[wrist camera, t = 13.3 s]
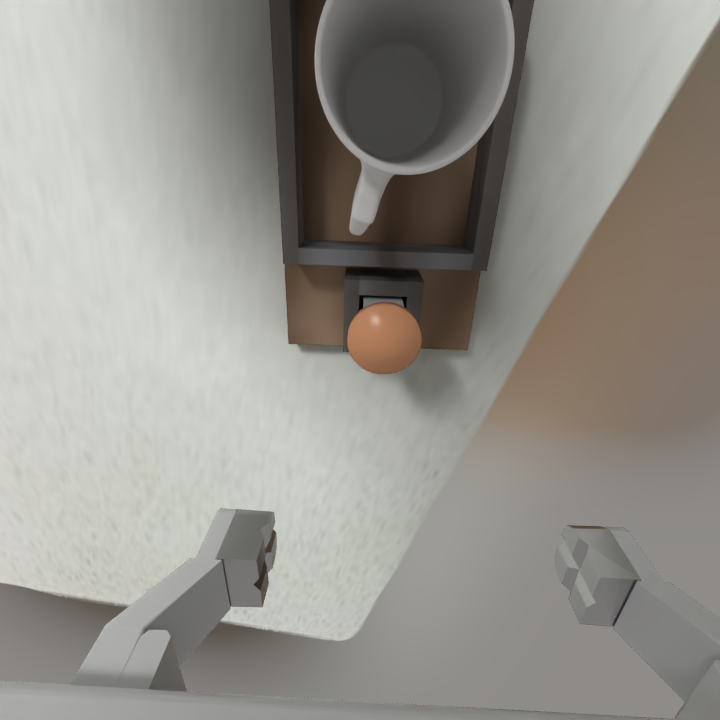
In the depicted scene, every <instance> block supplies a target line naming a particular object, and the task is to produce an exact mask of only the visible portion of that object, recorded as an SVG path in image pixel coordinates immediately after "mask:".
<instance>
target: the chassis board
mask: <svg viewBox="0 0 720 720" xmlns="http://www.w3.org/2000/svg"><path fill="white" fill-rule="evenodd" d="M508 1H509V4H510V8H511V12H512V18H513V24H514V37H515V49H514V61H513V68H512V74H511V78H510V82H509V86H508V89H507V92H506V95H505V98H504V100H503V103H502V105H501V107H500V109H499V111H498V113H497V115H496V117H495V119H494V120H493V122H492V123H491V125H490V127H489V128H488V129H487V131H486V132H485V133H484V135H483V136H482V137H481V138H480V139H479V141H478V142H477V143H476V144H475V145H474V146H473V147H472V148H471V149H469V150H468V151H467V152H466V153H465V154H464V155H462V156H461V157H459V158H458V159H457V160H455V161H453V162H452V163H450V164H448V165H446V166H444V167H442V168H439V169H437V170H434V171H431V172H427V173H422V174H415V175H398V174H395V175H393V176H392V178H391V179H390V180H389V182H388V184H387V185H386V188H385V190H384V192H383V194H382V197H381V200H380V203H379V207H378V210H377V213H376V216H375V219H374V221H373V223H371V224H370V225H369V226H368V228H367V229H366V231H365V232H364V233H363V234H362V235H359V236H358V235H354V234H352V233H351V232H350V230H349V225H350V218H351V211H352V204H353V199H354V194H355V190H356V187H357V183H358V180H359V177H360V174H361V170H362V165H361V161H360V159H359V158H357V157H356V156H355V155H354V154H353V153H352V152H350V151H349V150H348V149H347V147H346V146H345V145H344V144H343V143H342V142H341V140H340V139H339V138H338V136H337V135H336V134H335V132H334V130H333V129H332V127H331V125H330V123H329V121H328V119H327V117H326V115H325V113H324V110H323V107H322V104H321V101H320V98H319V94H318V89H317V84H316V77H315V42H316V35H317V29H318V25H319V21H320V17H321V14H322V11H323V8H324V5H325V2H326V0H269V3H270V22H271V41H272V59H273V78H274V97H275V116H276V135H277V153H278V172H279V191H280V210H281V229H282V248H283V264H285V282H286V301H287V321H288V340H289V344H308V345H337V346H343V352H349V349H348V344H347V338H348V329H349V326H350V323H351V321H352V319H353V318H354V316H355V315H356V314H357V313H358V312H359V311H360V310H361V309H363V297H364V295H371V296H400V297H402V300H403V304H404V307H405V308H406V309H408V310H409V311H410V312H411V313H412V314H413V316H414V317H415V319H416V320H417V323H418V325H419V328H420V332H421V338H422V339H421V347H420V348H424V349H453V350H467V348H468V342H469V337H470V331H471V325H472V319H473V313H474V307H475V301H476V295H477V289H478V283H479V277H480V271H487V266H488V260H489V255H490V249H491V243H492V238H493V232H494V226H495V220H496V215H497V209H498V203H499V198H500V192H501V186H502V180H503V175H504V169H505V163H506V158H507V152H508V146H509V141H510V135H511V129H512V123H513V118H514V112H515V106H516V101H517V95H518V89H519V83H520V78H521V72H522V66H523V61H524V55H525V49H526V43H527V38H528V32H529V26H530V21H531V15H532V9H533V4H534V0H508Z"/></svg>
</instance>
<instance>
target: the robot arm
mask: <svg viewBox="0 0 720 720" xmlns="http://www.w3.org/2000/svg"><path fill="white" fill-rule="evenodd" d="M274 524H275V515H274V512H269V511H256V510H242V509H224V508H220V510H219V511H218V512H217V513H216V515H215V517H214V519H213V522H212V524H211V526H210V528H209V530H208V532H207V535H206V537H205V539H204V541H203V543H202V545H201V548H200V550H199V552H198V554H197V556H196V558H190V559H189V560H187V561H186V562H185V563H184V564H182V565H181V566H180V567H178V568H177V569H176V570H175V571H173V572H172V573H171V574H170V575H168V576H167V577H166V578H165V579H163V580H162V581H161V582H159V583H158V584H157V585H156V586H154V587H153V588H152V589H151V590H149V591H148V592H147V593H146V594H144V595H143V596H142V597H141V598H139V599H138V600H137V601H135V602H134V603H133V604H132V605H130V606H129V607H128V608H127V609H125V610H124V611H123V612H122V613H120V614H119V615H118V616H116V617H115V618H114V619H113V620H111V621H110V622H109V623H108V624H106V625H105V627H104V629H103V630H102V632H101V634H100V635H99V637H98V639H97V640H96V642H95V644H94V646H93V647H92V649H91V651H90V652H89V654H88V656H87V657H86V659H85V661H84V662H83V664H82V666H81V667H80V669H79V671H78V673H77V674H76V676H75V678H74V679H73V681H72V683H71V684H70V685H65V684H47V683H30V682H12V681H0V720H720V618H719V617H718V616H716V615H715V614H713V613H712V612H711V611H709V610H708V609H706V608H705V607H704V606H702V605H701V604H699V603H698V602H697V601H695V600H694V599H692V598H691V597H690V596H688V595H687V594H685V593H684V592H683V591H681V590H680V589H678V588H677V587H676V586H674V585H673V584H671V583H670V582H664V581H663V580H662V579H661V577H660V576H659V574H658V573H657V571H656V570H655V569H654V567H653V566H652V564H651V563H650V561H649V560H648V558H647V557H646V556H645V554H644V553H643V551H642V550H641V548H640V547H639V546H638V544H637V543H636V541H635V540H634V538H633V537H632V535H631V534H630V533H629V531H628V530H626V529H625V528H619V527H600V526H599V527H598V526H571V525H568V526H566V527H565V528H564V530H563V533H562V537H563V539H564V542H563V543H562V544H560V545H559V546H558V547H557V550H556V554H555V562H556V563H555V564H556V569H557V573H558V575H559V578H560V580H561V583H562V584H564V585H565V586H566V587H567V588H568V589H569V590H570V591H571V593H570V596H569V601H570V603H571V605H572V607H573V610H574V611H575V614H576V616H577V618H578V620H579V623H580V624H588V625H600V626H612V627H614V628H613V629H614V630H615V631H616V632H617V633H618V634H619V635H620V636H621V637H622V638H623V639H624V640H625V641H626V642H627V643H628V644H629V645H630V646H631V647H632V648H633V649H634V650H635V651H636V652H637V653H638V654H639V655H640V656H641V657H642V658H643V659H644V660H645V662H647V664H648V665H649V666H650V667H651V668H652V669H653V670H654V671H655V672H656V673H657V674H658V675H659V676H660V677H661V678H662V679H663V680H664V681H665V682H666V683H667V684H668V685H669V686H670V687H671V688H672V689H673V690H674V691H675V692H676V693H677V694H678V695H679V696H680V697H681V698H682V699H683V701H684V702H685V703H684V705H683V706H682V708H681V709H680V710H679V712H678V713H677V715H676V716H675V719H663V718H646V717H628V716H610V715H593V714H592V715H591V714H575V713H558V712H557V713H556V712H540V711H523V710H506V709H505V710H504V709H488V708H470V707H453V706H434V705H417V704H399V703H380V702H362V701H345V700H328V699H309V698H292V697H274V696H257V695H239V694H221V693H220V694H219V693H204V692H203V693H202V692H187V690H186V687H185V683H184V680H183V677H182V673H181V670H180V666H181V665H182V663H183V662H184V661H185V660H186V659H187V658H188V657H189V655H190V654H191V653H192V652H193V651H194V649H195V648H196V647H197V646H198V645H199V644H200V643H201V642H202V641H203V639H204V638H205V637H206V636H207V635H208V634H209V633H210V631H211V630H212V629H213V628H214V627H215V626H216V625H217V623H218V622H219V621H220V620H221V619H222V618H223V617H224V616H225V614H226V613H227V612H228V611H229V610H230V607H263V603H264V599H265V596H266V592H267V588H268V584H269V582H268V572H269V571H270V570H271V569H272V568H273V564H274V560H275V554H276V547H277V536H276V532H275V531H274V530H273V528H274Z"/></svg>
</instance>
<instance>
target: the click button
mask: <svg viewBox="0 0 720 720" xmlns="http://www.w3.org/2000/svg"><path fill="white" fill-rule="evenodd" d="M421 339H422V338H421V332H420V328H419V325H418V323H417V320H416V319H415V317H414V316H413V314H412V313H411V312H410V311H409V310H408V309H406V308H405V307H404V304H403V300H402V297H400V296H371V295H364V297H363V309H361V310H360V311H359V312H358V313H357V314H356V315H355V316H354V318H353V319H352V321H351V323H350V326H349V329H348V338H347V344H348V349H349V352H350V354H351V356H352V358H353V359H354V361H355V362H356V363H357V364H358V365H359V366H360V367H362V368H363V369H365V370H367V371H370V372H373V373H377V374H390V373H395V372H398V371H400V370H402V369H404V368H406V367H407V366H408V365H410V364H411V363H412V362H413V361H414V359H415V358H416V356H417V355H418V353H419V350H420V347H421Z"/></svg>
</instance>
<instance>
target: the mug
mask: <svg viewBox="0 0 720 720" xmlns="http://www.w3.org/2000/svg"><path fill="white" fill-rule="evenodd" d="M514 49H515V37H514V24H513V18H512V12H511V8H510V4H509V1H508V0H326V2H325V5H324V8H323V11H322V14H321V17H320V21H319V25H318V29H317V35H316V42H315V77H316V84H317V89H318V94H319V98H320V101H321V104H322V107H323V110H324V113H325V115H326V117H327V119H328V121H329V123H330V125H331V127H332V129H333V130H334V132H335V134H336V135H337V136H338V138H339V139H340V140H341V142H342V143H343V144H344V145H345V146H346V147H347V149H348V150H349V151H350V152H352V153H353V154H354V155H355V156H356V157H357V158H359V159H360V161H361V165H362V170H361V174H360V177H359V180H358V183H357V187H356V190H355V194H354V199H353V204H352V211H351V218H350V225H349V230H350V232H351V233H352V234H354V235H358V236H359V235H362V234H363V233H364V232H365V231H366V229H367V228H368V226H369V225H370V224H371V223H373V221H374V219H375V216H376V213H377V210H378V207H379V203H380V200H381V197H382V194H383V192H384V190H385V188H386V185H387V184H388V182H389V180H390V179H391V178H392V176H393V175H395V174H398V175H415V174H422V173H427V172H431V171H434V170H437V169H439V168H442V167H444V166H446V165H448V164H450V163H452V162H453V161H455V160H457V159H458V158H459V157H461V156H462V155H464V154H465V153H466V152H467V151H468V150H469V149H471V148H472V147H473V146H474V145H475V144H476V143H477V142H478V141H479V139H480V138H481V137H482V136H483V135H484V133H485V132H486V131H487V129H488V128H489V127H490V125H491V123H492V122H493V120H494V119H495V117H496V115H497V113H498V111H499V109H500V107H501V105H502V103H503V100H504V98H505V95H506V92H507V89H508V86H509V82H510V78H511V74H512V68H513V61H514Z"/></svg>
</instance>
